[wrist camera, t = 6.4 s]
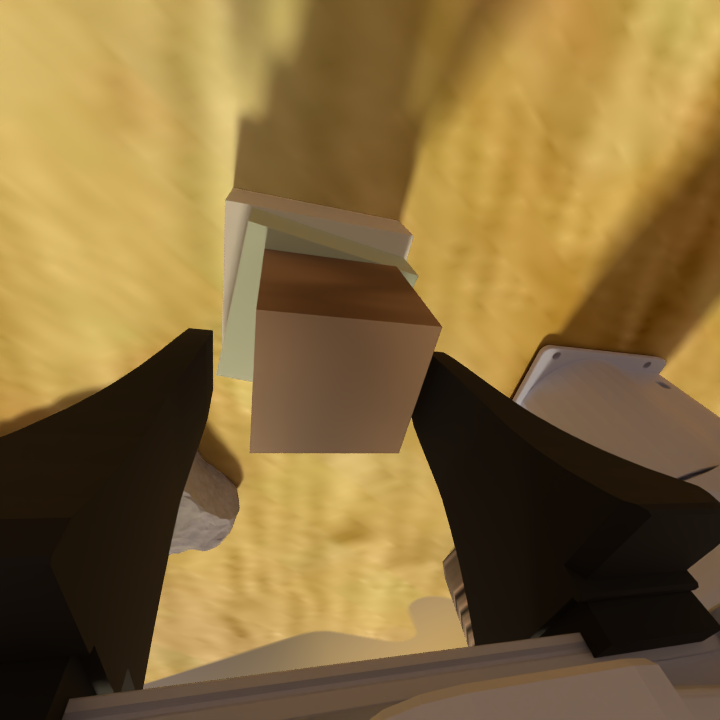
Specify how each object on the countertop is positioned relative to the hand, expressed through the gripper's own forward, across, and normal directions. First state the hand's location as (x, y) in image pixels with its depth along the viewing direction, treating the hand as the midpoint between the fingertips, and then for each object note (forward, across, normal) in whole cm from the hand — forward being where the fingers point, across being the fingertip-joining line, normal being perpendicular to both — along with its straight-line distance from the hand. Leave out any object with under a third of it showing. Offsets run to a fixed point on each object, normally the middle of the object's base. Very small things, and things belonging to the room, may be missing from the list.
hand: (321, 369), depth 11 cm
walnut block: (+3, 0, 0) cm, 3 cm away
